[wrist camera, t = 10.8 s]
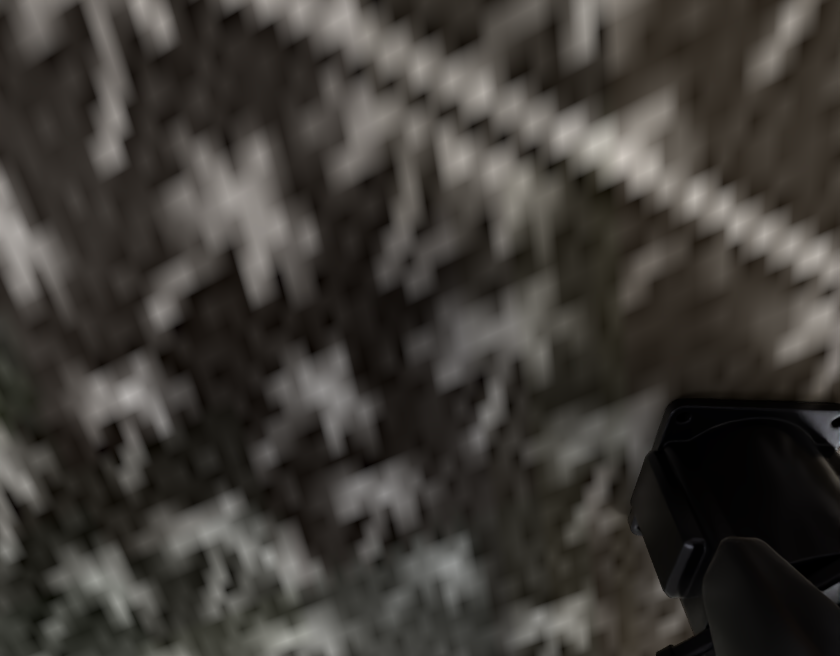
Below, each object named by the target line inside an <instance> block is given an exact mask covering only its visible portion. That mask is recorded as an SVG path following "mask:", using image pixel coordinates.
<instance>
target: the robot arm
mask: <svg viewBox="0 0 840 656" xmlns="http://www.w3.org/2000/svg"><path fill="white" fill-rule="evenodd" d="M683 412H685V413H684V414H683V415H680V416H678V415H679V414H680V413H683ZM839 447H840V404H828V403H797V402H765V401H733V400H702V399H679V400H676V401H673V402H672V403H670V404H669V405H668V406H667V408H666V410H665V413H664V415H663V418H662V421H661V424H660V427H659V430H658V433H657V436H656V439H655V442H654V445H653V448H652V450H651V451H650V452H649V453H648V454H647V455H646V457H645V460H644V463H643V466H642V469H641V472H640V474H639V477H638V480H637V483H636V486H635V489H634V492H633V495H632V498H631V506H632V509H631V512H630V515H629V517H628V523H629V526H630V529H631V531H632V533H634V534H636V535H640V536H643V538H644V541H645V544H646V546H647V549H648V552H649V554H650V557H651V560H652V562H653V565H654V568H655V570H656V573H657V576H658V579H659V581H660V584H661V587H662V589H663V591H664V592H665V593H666V594H667V596H668V597H670V598H680V601H681V603H682V606H683V608H684V611H685V613H686V616H687V618H688V621H689V624H690V626H691V629H692V631H693V634H694V636H692V637H690V638H688V639H687V640H685V641H683V642H681V643H679V644H677V645H675V646H673V645H669V646H667V647H665V648H663V649H661V650H660V651H658V652H656V656H840V455H839V454H838V453H837V451H838V449H839Z"/></svg>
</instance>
